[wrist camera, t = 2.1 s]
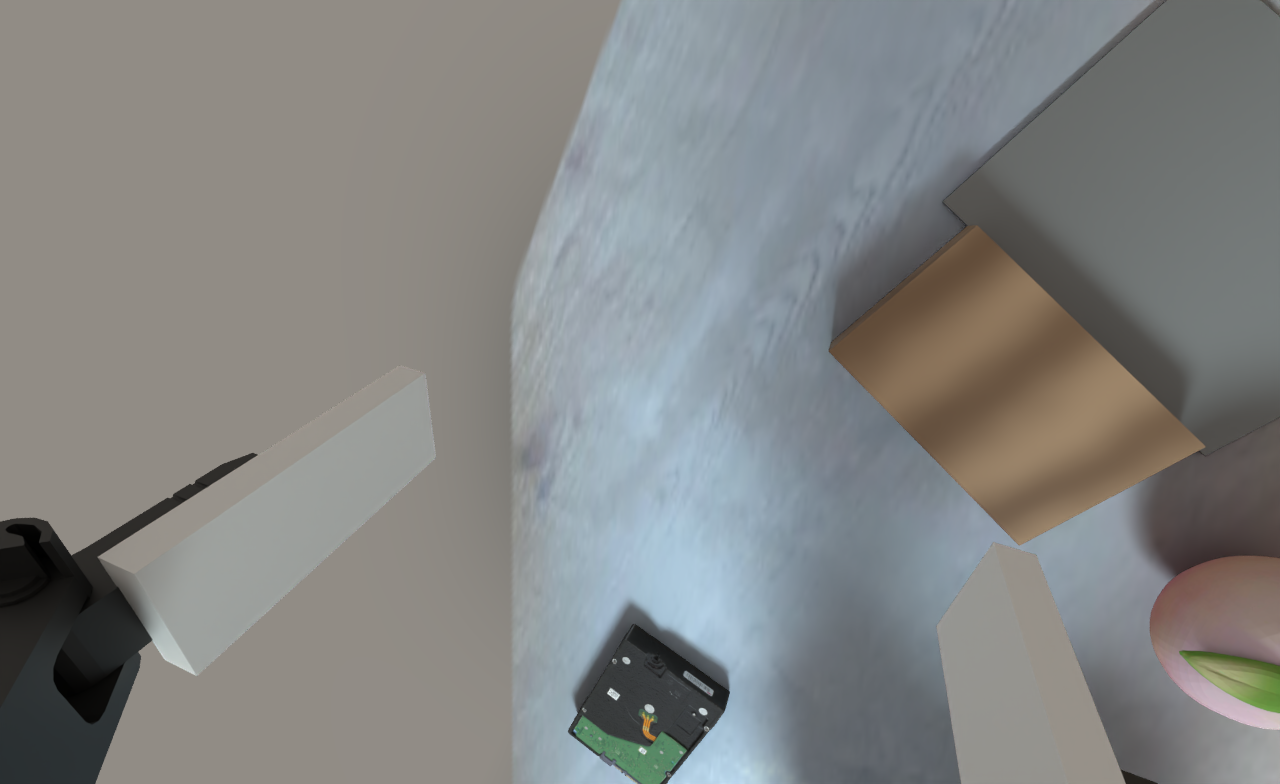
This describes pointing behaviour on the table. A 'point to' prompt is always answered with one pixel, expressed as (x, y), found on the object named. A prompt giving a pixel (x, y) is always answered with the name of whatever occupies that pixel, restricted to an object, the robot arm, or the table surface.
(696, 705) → the disk drive
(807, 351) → the table surface
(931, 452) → the walnut ledge
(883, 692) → the table surface
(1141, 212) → the rubber mat
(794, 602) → the table surface
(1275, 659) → the decorative fruit
